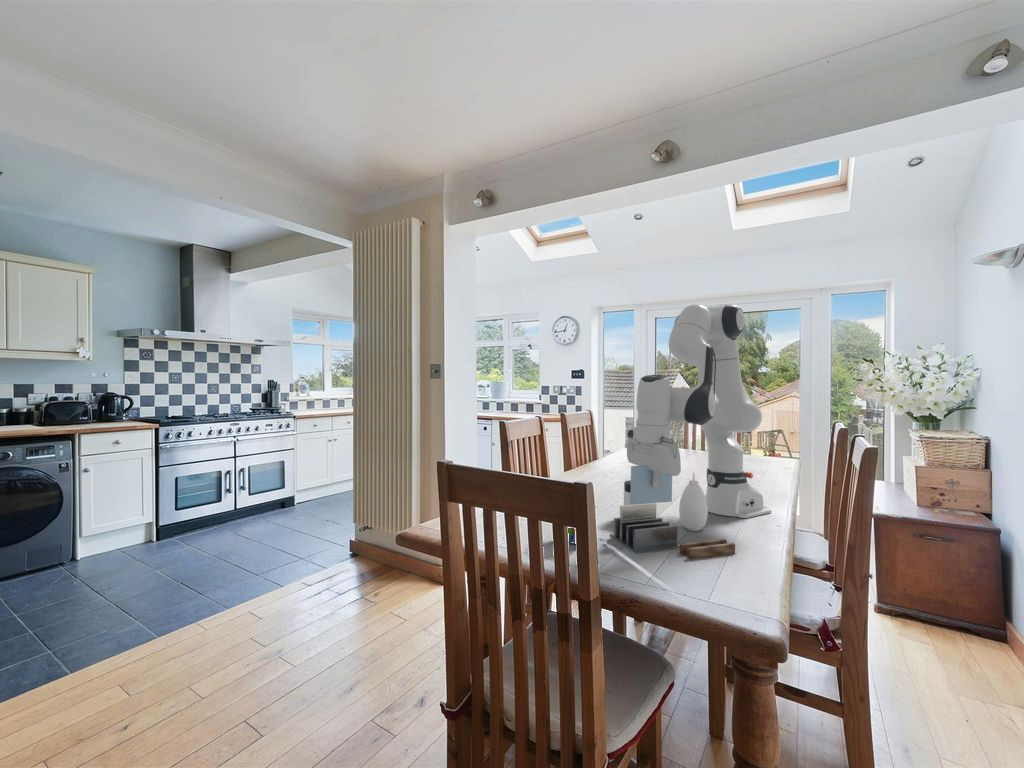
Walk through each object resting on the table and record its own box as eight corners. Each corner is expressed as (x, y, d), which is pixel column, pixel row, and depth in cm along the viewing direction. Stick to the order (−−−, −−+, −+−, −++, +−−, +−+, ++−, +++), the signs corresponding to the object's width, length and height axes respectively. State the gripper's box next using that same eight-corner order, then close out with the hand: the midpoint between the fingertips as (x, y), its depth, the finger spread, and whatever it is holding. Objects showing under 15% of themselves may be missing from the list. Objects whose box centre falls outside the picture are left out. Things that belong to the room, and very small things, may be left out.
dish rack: (651, 533, 138) (652, 499, 138) (682, 550, 124) (682, 513, 124) (609, 538, 134) (610, 503, 133) (636, 556, 120) (636, 517, 120)
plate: (668, 500, 128) (669, 464, 128) (671, 501, 126) (672, 465, 126) (630, 503, 124) (631, 466, 124) (633, 504, 123) (633, 467, 123)
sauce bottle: (712, 533, 138) (713, 473, 138) (695, 537, 134) (696, 476, 134) (690, 525, 145) (691, 468, 145) (673, 529, 141) (674, 471, 141)
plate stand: (722, 549, 125) (722, 538, 125) (736, 556, 120) (736, 544, 120) (678, 555, 121) (678, 543, 121) (691, 562, 116) (691, 550, 116)
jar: (655, 520, 150) (656, 483, 150) (640, 525, 145) (641, 487, 145) (632, 513, 157) (633, 478, 157) (617, 518, 152) (618, 482, 152)
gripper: (687, 439, 116) (686, 494, 116) (642, 430, 136) (641, 477, 136) (666, 440, 114) (665, 496, 115) (623, 430, 134) (622, 478, 134)
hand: (651, 485), depth 125 cm, fingers closed on plate, 1 cm apart
